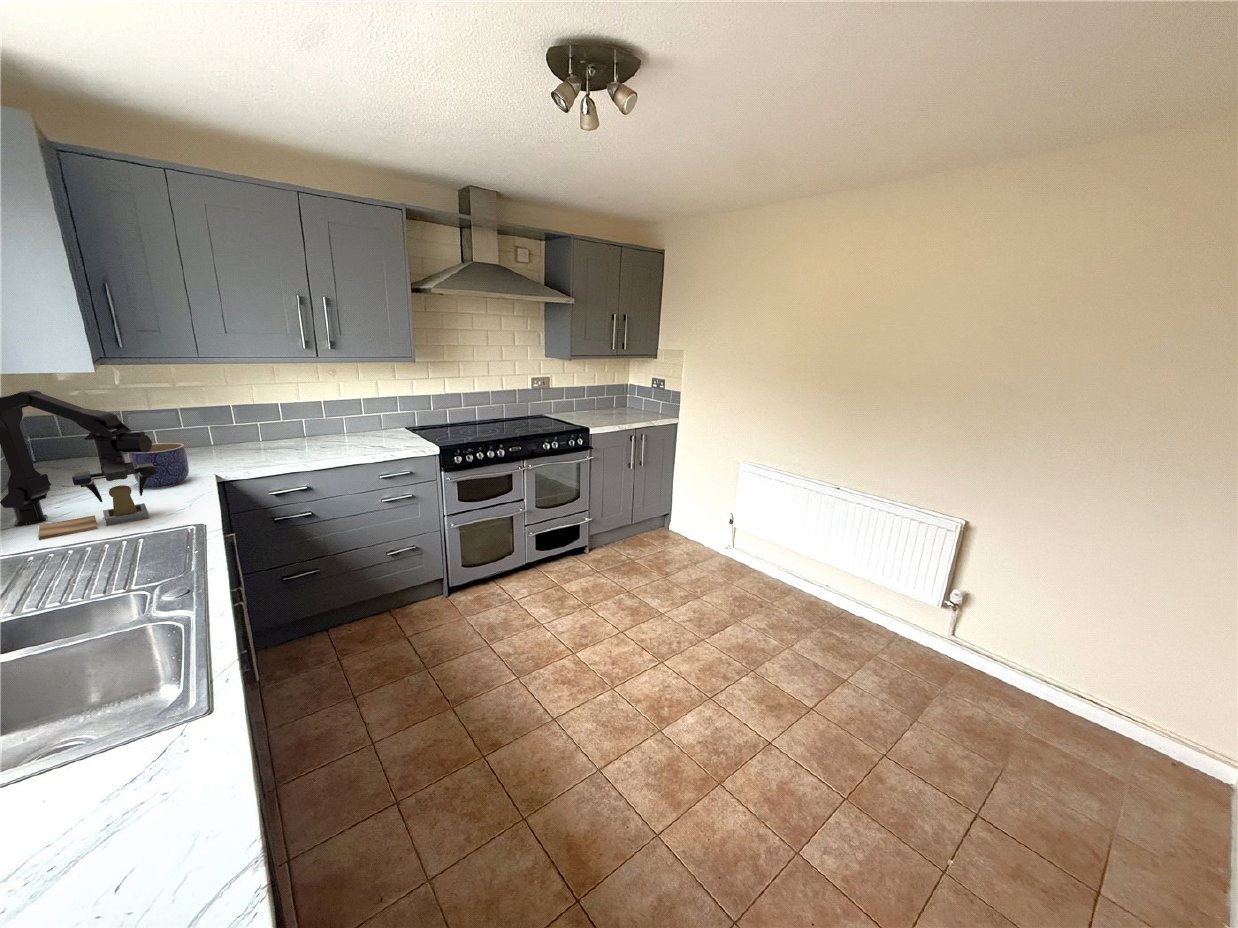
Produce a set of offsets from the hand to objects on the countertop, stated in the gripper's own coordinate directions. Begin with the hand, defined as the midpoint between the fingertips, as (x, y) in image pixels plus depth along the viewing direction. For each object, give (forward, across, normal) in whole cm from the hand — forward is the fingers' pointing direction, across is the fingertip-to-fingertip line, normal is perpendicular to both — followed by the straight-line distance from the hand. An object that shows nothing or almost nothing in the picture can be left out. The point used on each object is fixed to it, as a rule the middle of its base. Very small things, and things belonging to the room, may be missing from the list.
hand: (121, 498), depth 160 cm
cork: (+7, 0, 0) cm, 7 cm away
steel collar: (+7, 0, 0) cm, 7 cm away
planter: (+7, +13, +36) cm, 39 cm away
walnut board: (+7, -13, 0) cm, 15 cm away
